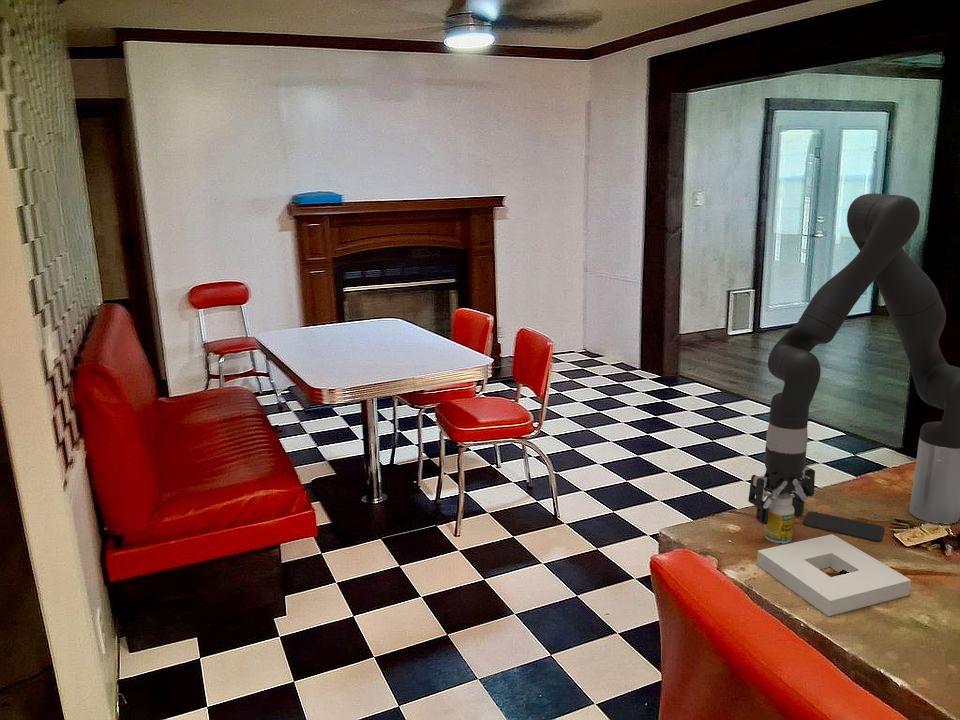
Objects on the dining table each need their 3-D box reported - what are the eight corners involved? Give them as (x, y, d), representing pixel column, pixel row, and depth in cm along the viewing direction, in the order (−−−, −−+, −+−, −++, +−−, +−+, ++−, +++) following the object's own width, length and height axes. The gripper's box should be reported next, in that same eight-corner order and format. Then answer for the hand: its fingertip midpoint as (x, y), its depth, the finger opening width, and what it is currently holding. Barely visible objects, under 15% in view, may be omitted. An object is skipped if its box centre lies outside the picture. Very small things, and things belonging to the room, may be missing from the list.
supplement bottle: (774, 529, 152) (778, 487, 150) (797, 539, 148) (801, 496, 146) (758, 536, 150) (761, 494, 147) (781, 547, 145) (785, 503, 143)
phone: (808, 510, 160) (885, 526, 152) (807, 513, 160) (884, 529, 152) (801, 523, 154) (881, 541, 146) (801, 527, 154) (881, 544, 146)
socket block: (830, 547, 144) (832, 534, 144) (909, 595, 128) (911, 580, 127) (756, 564, 139) (757, 550, 138) (828, 616, 122) (830, 600, 122)
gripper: (801, 434, 149) (794, 506, 153) (743, 443, 145) (738, 517, 149) (829, 446, 142) (820, 521, 146) (769, 456, 138) (763, 533, 142)
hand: (779, 519), depth 148 cm, fingers open, 8 cm apart
